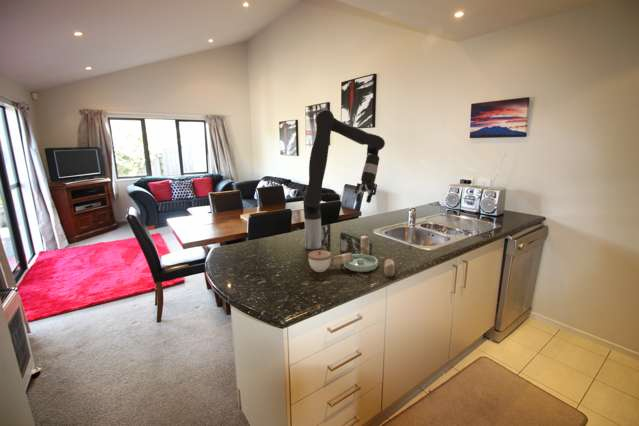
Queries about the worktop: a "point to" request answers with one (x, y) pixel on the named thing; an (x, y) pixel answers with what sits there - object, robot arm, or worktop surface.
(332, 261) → the beige banded cylinder
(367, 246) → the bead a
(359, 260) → the ring dish
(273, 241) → the worktop surface
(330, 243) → the worktop surface
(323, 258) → the lidded jar
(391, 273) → the wooden dowel
